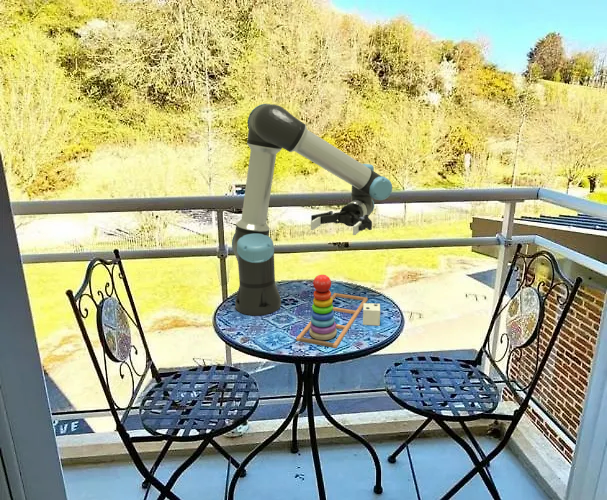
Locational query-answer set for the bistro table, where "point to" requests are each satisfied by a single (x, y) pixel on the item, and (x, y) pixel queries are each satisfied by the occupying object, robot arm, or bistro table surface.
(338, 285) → the bistro table surface
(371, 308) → the die
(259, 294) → the robot arm
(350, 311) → the ladder
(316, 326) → the stacking toy
